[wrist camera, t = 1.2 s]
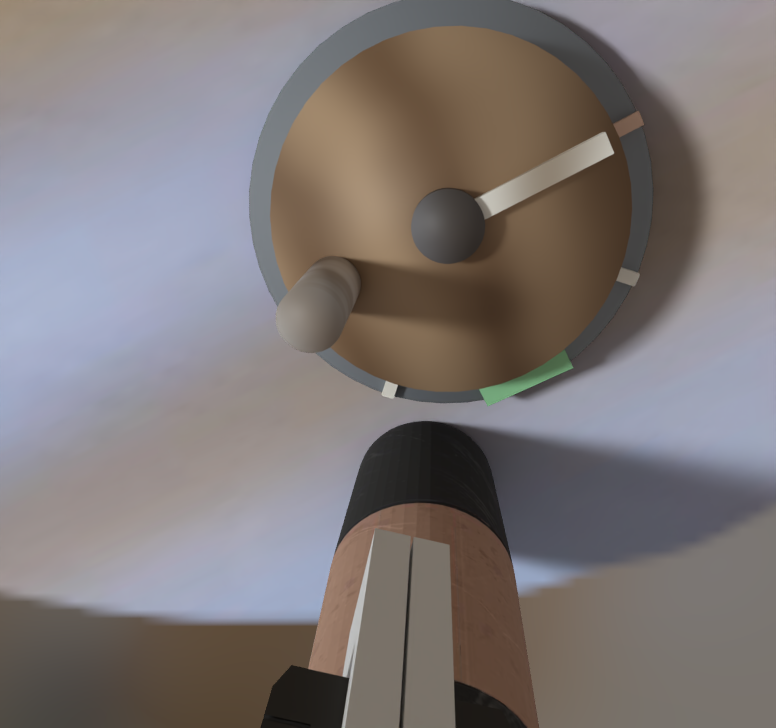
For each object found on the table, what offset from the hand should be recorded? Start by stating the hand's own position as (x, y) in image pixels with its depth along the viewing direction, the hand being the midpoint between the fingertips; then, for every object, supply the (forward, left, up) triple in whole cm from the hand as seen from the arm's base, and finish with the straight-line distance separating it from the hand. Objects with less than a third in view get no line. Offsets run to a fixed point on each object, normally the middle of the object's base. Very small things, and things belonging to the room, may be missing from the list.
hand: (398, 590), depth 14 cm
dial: (-6, +1, -19) cm, 20 cm away
